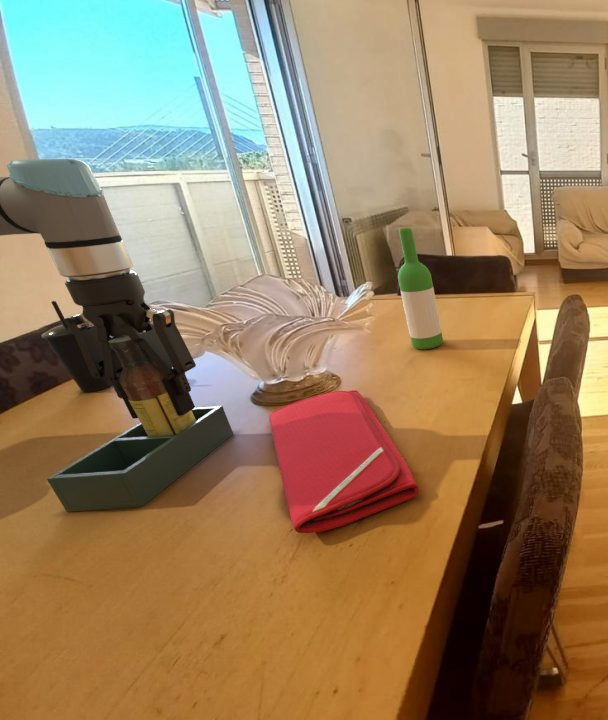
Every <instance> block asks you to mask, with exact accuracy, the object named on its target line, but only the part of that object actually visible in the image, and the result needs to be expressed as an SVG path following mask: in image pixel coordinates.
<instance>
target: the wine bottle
mask: <svg viewBox="0 0 608 720" xmlns="http://www.w3.org/2000/svg"><path fill="white" fill-rule="evenodd" d="M398 233H399V239H400V244H401V249H402V254H403V259H404V264H402V265H401V267H400V268H399V270H398V273H397V280H398V285H399V290H400V295H401V301H402V305H403V310H404V315H405V319H406V323H407V329H408V333H409V337H410V342H411V345H412V347H413V348H414V349H416V350H422V351H423V350H431V349H435V348H437V347H440V346H441V345H442V344H443V342H444V341H443V340H444V339H443V331H442V326H441V320H440V315H439V310H438V305H437V299H436V294H435V288H434V284H433V279H432V274H431V271H430V270H429V268H428V267H427V266H426V265H425V264H424V263H422V262H420V261H419V258H418V253H417V247H416V244H415V243H416V242H415V238H414V233H413V229H412V228H410V227H406V228H405V227H404V228H403V227H402V228H399V229H398Z"/></svg>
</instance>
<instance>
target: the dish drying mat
mask: <svg viewBox="0 0 608 720" xmlns="http://www.w3.org/2000/svg"><path fill="white" fill-rule="evenodd" d="M268 419H269V424H270V428H271V434H272V440H273V445H274V450H275V455H276V459H277V464H278V469H279V473H280V478H281V481H282V486H283V493H284V496H285V500H286V504H287V509H288V511H289V516H290V520H291V523H292V524H291V525H292V526H293V529H294V531H295V532H297V533H300V534H314V533H322V532H327V531H329V530H333V529H336V528H340V527H342V526H346V525H348V524H351V523H353V522H356V521H359V520H361V519H363V518H366V517H369V516H371V515H374V514H376V513H380V512H382V511H384V510H387V509H389V508H391V507H395V506H397V505H400V504H402V503H404V502H407V501H410V500H412V499H414V498H415V497H417V496H418V494H419V486H418V485H417V481H416V479H415V477H414V476H413V474H412V472H411V470H410V468H409V465H408V464H407V462H406V461H405V459H404V458H403V456H402V454H401V453H400V451H398V449H397V447H396V445H395V444H394V442H393V441H392V439H391V437H390V436H389V435H388V433H387V431H386V430H385V429H384V427H383V425H382V424H381V423H380V422H379V419H378V418H377V416H376V415H375V413H374V411H373V410H372V408H371V406H370V405H369V403H368V402H367V400H366V399H365V398H364V397H363V395H362V394H361V393H360V391H358V390H356V389H353V390H336V391H335V390H334V391H331V392H326V393H322V394H318V395H314V396H310V397H307V398H303V399H300V400H297V401H294V402H292V403H289V404H287V405H284V406H282V407H279V408H277V409H275V410H274V411H271V412H270V413H269V418H268Z"/></svg>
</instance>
